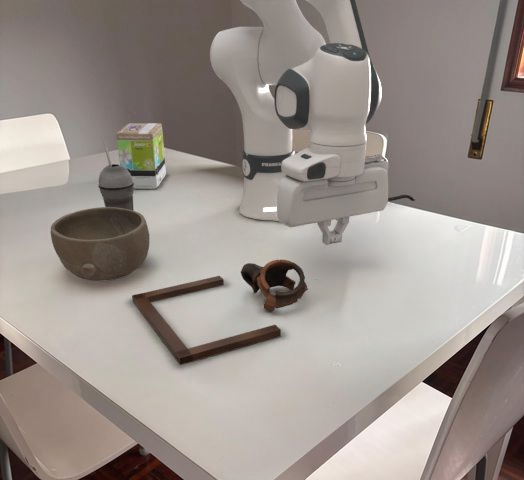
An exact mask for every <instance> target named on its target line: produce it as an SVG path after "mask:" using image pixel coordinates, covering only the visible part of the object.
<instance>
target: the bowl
mask: <svg viewBox="0 0 524 480" xmlns="http://www.w3.org/2000/svg"><path fill="white" fill-rule="evenodd" d="M50 237H51V243H52V246H53V249H54V251H55V254H56V255H57V257H58V259H59V261H60V263H61V265H62V266H63V267H64V268H65V269H66V270H67V271H68V272H69V273H70V274H72V275H74V276H76V277H77V278H79V279H82V280H85V281H91V282H103V281H114V280H117V279H122V278H125V277H128V276H129V275H131V274H133V273H134V272H135V271H137V270H138V269H139V268H141V266H142V265H143V264H144V263H145V261H146V258H147V256H148V254H149V251H150V231H149V228H148V222H147V219H146V218H145V215H143V214H141V213H140V212H138V211H136V210H134V211H133V210H129V209H124V208H117V207H105V206H101V207H100V206H99V207H93V208H85V209H80V210H76V211H73V212H71V213H68V214H65V215H62V216H61V217H59V218H58V219H56V220H55V221H54V222H53V223H52V224H51V226H50Z"/></svg>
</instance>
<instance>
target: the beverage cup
mask: <svg viewBox="0 0 524 480" xmlns="http://www.w3.org/2000/svg"><path fill="white" fill-rule="evenodd" d="M102 143H103V146H104V150H105V151H104V152H105V154H106V158H107V159H106V160H107V163H108V165H106V166H105V167H104V168H103V169H102V170H101V171H100V173H99V176H98V188H99V193H100V195H101V197H102V199H103V203H104V207H117V208H124V209H129V210H133V211H135V210H134V190H135V189H134V187H133V185H134V183H133V180H132V177H131V174H130V173H129V171H128V170H127V169H126V168H124V167H123V166H121V165H120V164H118V163H116V164H115V163H113V164H112V161H111V156H110V153H109V150H108V145H107V142H106V141H103V142H102Z"/></svg>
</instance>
